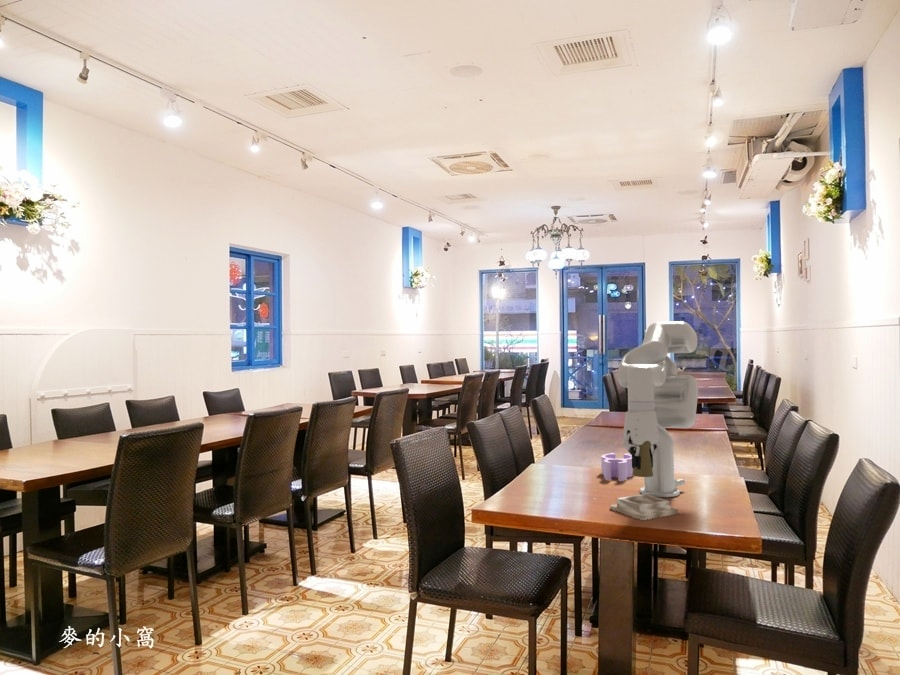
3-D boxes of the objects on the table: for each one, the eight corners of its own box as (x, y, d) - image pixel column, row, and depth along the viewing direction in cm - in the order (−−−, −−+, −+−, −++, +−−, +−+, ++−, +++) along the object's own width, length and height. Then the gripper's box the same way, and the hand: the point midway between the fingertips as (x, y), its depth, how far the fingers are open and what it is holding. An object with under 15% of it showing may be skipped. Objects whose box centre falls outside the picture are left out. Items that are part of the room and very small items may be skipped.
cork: (631, 476, 190) (630, 439, 190) (633, 472, 196) (632, 436, 196) (652, 477, 188) (651, 440, 188) (653, 473, 194) (652, 437, 194)
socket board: (644, 503, 201) (644, 492, 201) (678, 513, 189) (678, 501, 189) (609, 509, 195) (609, 497, 195) (642, 520, 183) (642, 508, 183)
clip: (632, 482, 230) (631, 463, 230) (597, 480, 234) (596, 461, 234) (636, 471, 249) (636, 453, 249) (604, 469, 253) (603, 452, 253)
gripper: (653, 404, 199) (654, 463, 199) (610, 407, 192) (612, 468, 192) (671, 406, 192) (672, 467, 192) (628, 409, 185) (629, 473, 185)
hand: (642, 467), depth 192 cm, fingers closed on cork, 4 cm apart
